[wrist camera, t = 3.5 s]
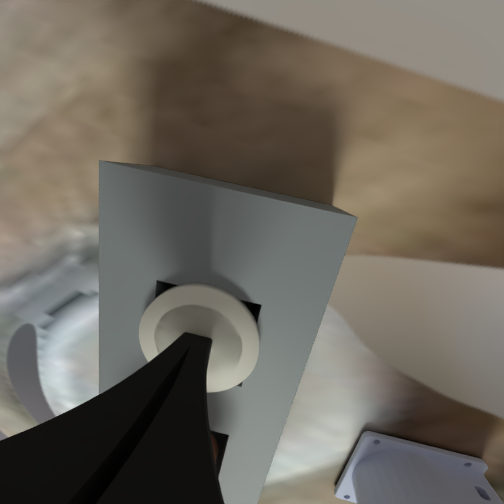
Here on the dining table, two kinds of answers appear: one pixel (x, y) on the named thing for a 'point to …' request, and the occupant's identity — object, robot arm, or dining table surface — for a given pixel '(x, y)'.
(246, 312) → the plunger
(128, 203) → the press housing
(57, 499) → the robot arm
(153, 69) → the dining table surface
